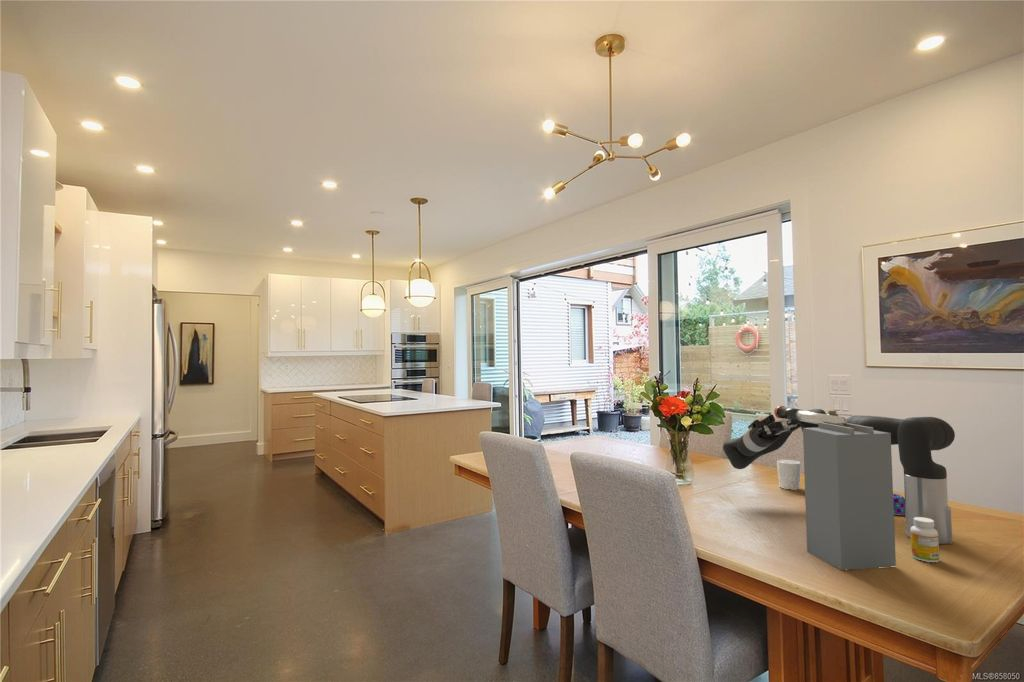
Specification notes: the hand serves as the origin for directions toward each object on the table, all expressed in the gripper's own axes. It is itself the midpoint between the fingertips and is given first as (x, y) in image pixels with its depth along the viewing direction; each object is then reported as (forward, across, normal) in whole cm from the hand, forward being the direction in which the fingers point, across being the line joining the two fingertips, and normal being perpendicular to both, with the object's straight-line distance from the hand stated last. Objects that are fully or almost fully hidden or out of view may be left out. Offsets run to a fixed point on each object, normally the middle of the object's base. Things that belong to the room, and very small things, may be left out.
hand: (786, 416), depth 149 cm
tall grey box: (+4, 0, +40) cm, 40 cm away
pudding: (-26, +42, +24) cm, 55 cm away
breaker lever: (+8, 0, +5) cm, 9 cm away
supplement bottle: (+6, +18, +41) cm, 45 cm away
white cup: (-52, +28, +8) cm, 59 cm away
